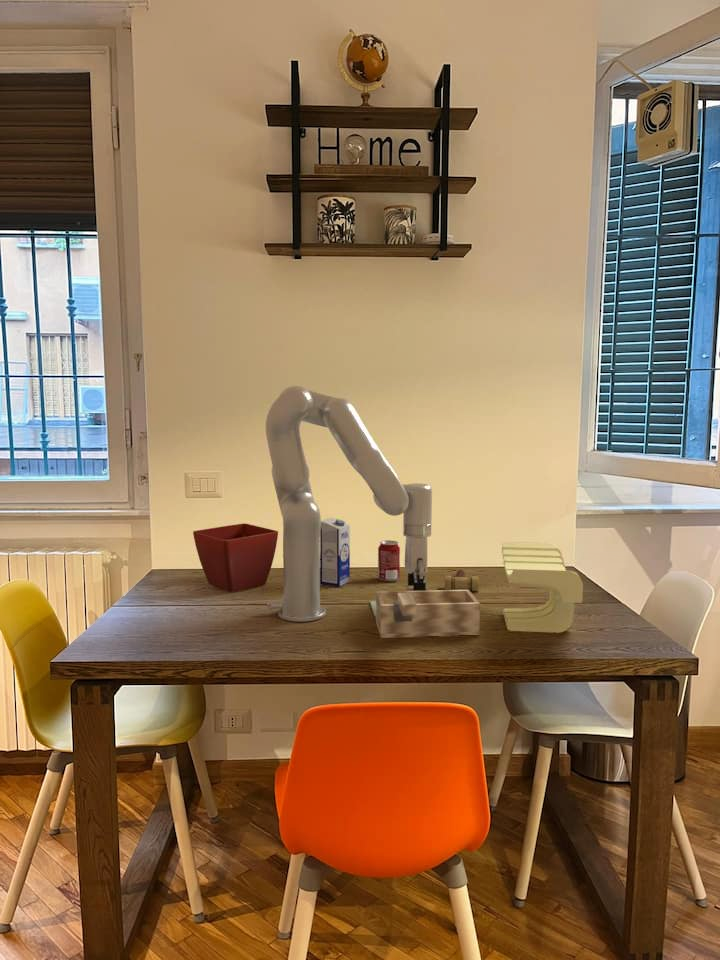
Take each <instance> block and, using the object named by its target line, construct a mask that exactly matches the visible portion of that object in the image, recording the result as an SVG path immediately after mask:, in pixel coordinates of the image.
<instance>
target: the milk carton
mask: <svg viewBox="0 0 720 960" xmlns="http://www.w3.org/2000/svg"><path fill="white" fill-rule="evenodd" d="M350 534H351V524H349V523H346V522H345V521H344V520H342V519H338V518H333V517H328V518H325V519H321V527H320V584H322V585H321V586H326V585H329V586H328V587H333V586H335V588H340V587H342V586H344V584H345V585H347V584H349V583H350V580H351V576H350V575H351V573H350V571H351V570H350V568H351V567H350V566H351V564H350V563H351V559H350V558H351V555H350V554H351V552H350V551H351V549H350V548H351V545H350V543H351V542H350V541H351V540H350V539H351V537H350V536H351V535H350ZM348 582H349V583H348ZM346 583H347V584H346Z"/></svg>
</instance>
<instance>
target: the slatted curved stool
mask: <svg viewBox="0 0 720 960" xmlns="http://www.w3.org/2000/svg"><path fill="white" fill-rule="evenodd" d="M501 553H502V559H503V566H504V572H505V575H506V577H507V581H508V583H509V584H519V585H520V584H521V585H530V586H537V587H541V588H543V589H546V590H548V591H549V598H548V600H547V602H546V603H545V604H543V605H540V606H539V605H538V606H535V607H526V608H503V609H502V610H503V611H502V615H504V616H503V618H505V619H504V622H506V623H505V625H506V629H508V630H510V631H509V632H531V633H532V632H535V633H537V632H538V633H554V632H555V633H558V634H559V633H563V632H565V631H567V630H569V628H570V626H571V625H572V623H573V622H574V612H575V603H577V604H578V603H579V604H583V600H584V599H583V597H584V596H583V595H584V593H583V591H584V583H583V580H582V579H581V577H580V576H579V574H578V573H577V572H575V571H572V570H567V569H566V565H565V563H564V558H563V555H562V552H561V550H560V549H559V547H558V546H557V545H555V544H553V543H551V542H530V541H529V542H522V541H521V542H520V541H519V542H518V541H501ZM508 630H507V631H508Z"/></svg>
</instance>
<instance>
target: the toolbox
mask: <svg viewBox="0 0 720 960" xmlns="http://www.w3.org/2000/svg"><path fill="white" fill-rule="evenodd" d="M398 593H411V595H412V597H413V599H414V601H415V603H416V615H408V616H403V615H402V612H401V610H400V608H399V605H398ZM375 601H376V617H375V622H376V626H377V629H378V632H379V635H380V638H381V639H388V638H389V639H392V638H393V639H394V638H428V637H427V636H439V637H459V636H458V635H479V636H480V625H481V624H480V619H481V618H480V617H481V615H480V614H481V603H480V602H479V601H478V599H477V598H476V597H475V596H474V594H473V593H472V591H471V590H444V589H441V590H439V589H437V590H436V589H435V590H432V589H431V590H429V589H428V590H426V591H406V590H389V591H388V590H385V591H383V590H382V591H381V590H379V591H375ZM453 635H454V636H453ZM425 636H426V637H425Z"/></svg>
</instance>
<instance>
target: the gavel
mask: <svg viewBox="0 0 720 960" xmlns="http://www.w3.org/2000/svg"><path fill="white" fill-rule="evenodd" d="M479 578H480V577H479V576H473V575H472V576H471V577H467V576H466V574H465V571H464V570H462V569H459V570H457V571H456V576H452V575H444V589H443V590H469V591H471V592H473V591H476V592H479V589H480V587H479V586H480V583H479Z"/></svg>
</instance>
